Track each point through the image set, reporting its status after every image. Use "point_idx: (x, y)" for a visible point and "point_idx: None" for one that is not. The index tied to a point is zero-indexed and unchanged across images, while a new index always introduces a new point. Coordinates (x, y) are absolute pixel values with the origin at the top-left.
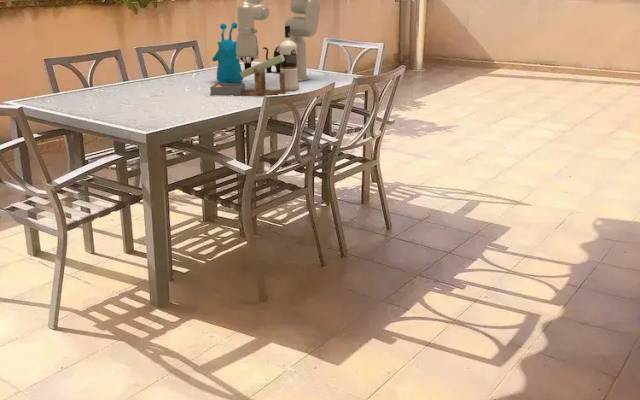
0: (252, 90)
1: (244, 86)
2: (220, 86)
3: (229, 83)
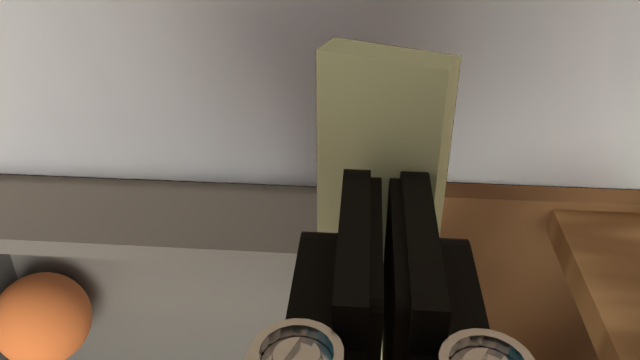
0: None
1: None
2: (63, 355)
3: (116, 259)
